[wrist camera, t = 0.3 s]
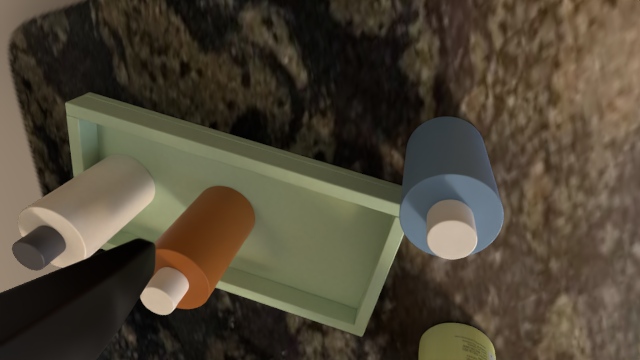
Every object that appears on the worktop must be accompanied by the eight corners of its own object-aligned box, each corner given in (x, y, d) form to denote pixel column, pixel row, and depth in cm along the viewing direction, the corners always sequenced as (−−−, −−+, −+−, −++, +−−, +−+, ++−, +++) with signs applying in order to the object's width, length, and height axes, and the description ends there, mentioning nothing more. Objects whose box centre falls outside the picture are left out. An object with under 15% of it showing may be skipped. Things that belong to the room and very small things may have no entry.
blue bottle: (466, 193, 23) (483, 295, 16) (396, 172, 23) (383, 263, 16) (497, 128, 21) (531, 213, 14) (420, 106, 21) (416, 179, 14)
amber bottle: (251, 245, 27) (192, 341, 21) (196, 227, 28) (120, 315, 21) (259, 196, 25) (197, 285, 19) (199, 177, 26) (117, 258, 19)
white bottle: (155, 214, 28) (68, 297, 21) (102, 196, 28) (0, 273, 22) (155, 164, 26) (58, 238, 19) (98, 146, 26) (-17, 213, 20)
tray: (366, 313, 29) (362, 337, 27) (101, 225, 31) (81, 242, 29) (415, 189, 23) (414, 209, 22) (90, 91, 25) (64, 102, 24)
